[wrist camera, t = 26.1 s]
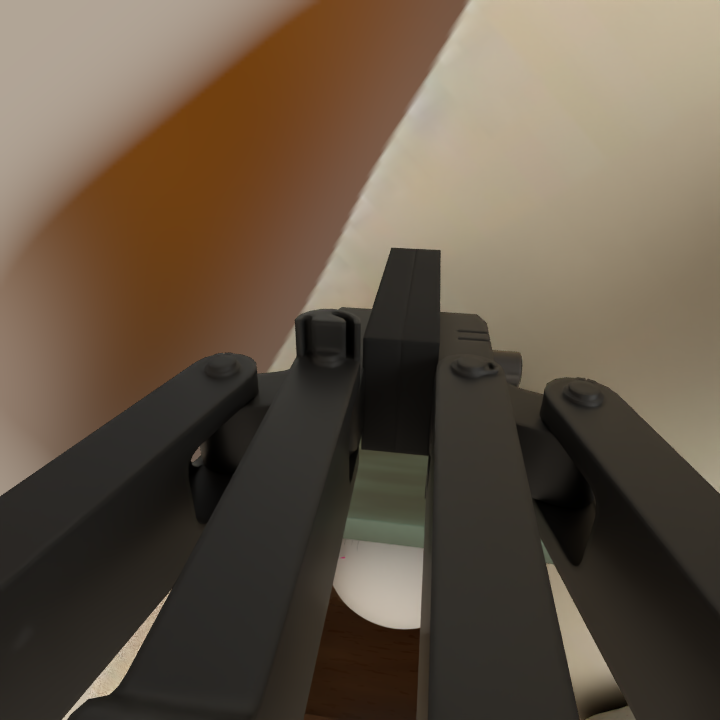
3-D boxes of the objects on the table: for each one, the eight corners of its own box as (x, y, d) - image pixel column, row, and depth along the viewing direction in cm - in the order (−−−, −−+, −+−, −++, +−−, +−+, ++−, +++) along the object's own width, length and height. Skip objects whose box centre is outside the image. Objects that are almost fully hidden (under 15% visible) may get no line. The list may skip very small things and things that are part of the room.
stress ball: (466, 481, 32) (497, 498, 26) (440, 611, 32) (465, 664, 25) (348, 454, 32) (349, 465, 26) (319, 584, 31) (312, 629, 25)
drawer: (291, 286, 26) (225, 371, 18) (559, 303, 24) (614, 404, 16) (307, 594, 36) (270, 730, 29) (494, 620, 35) (509, 771, 27)
